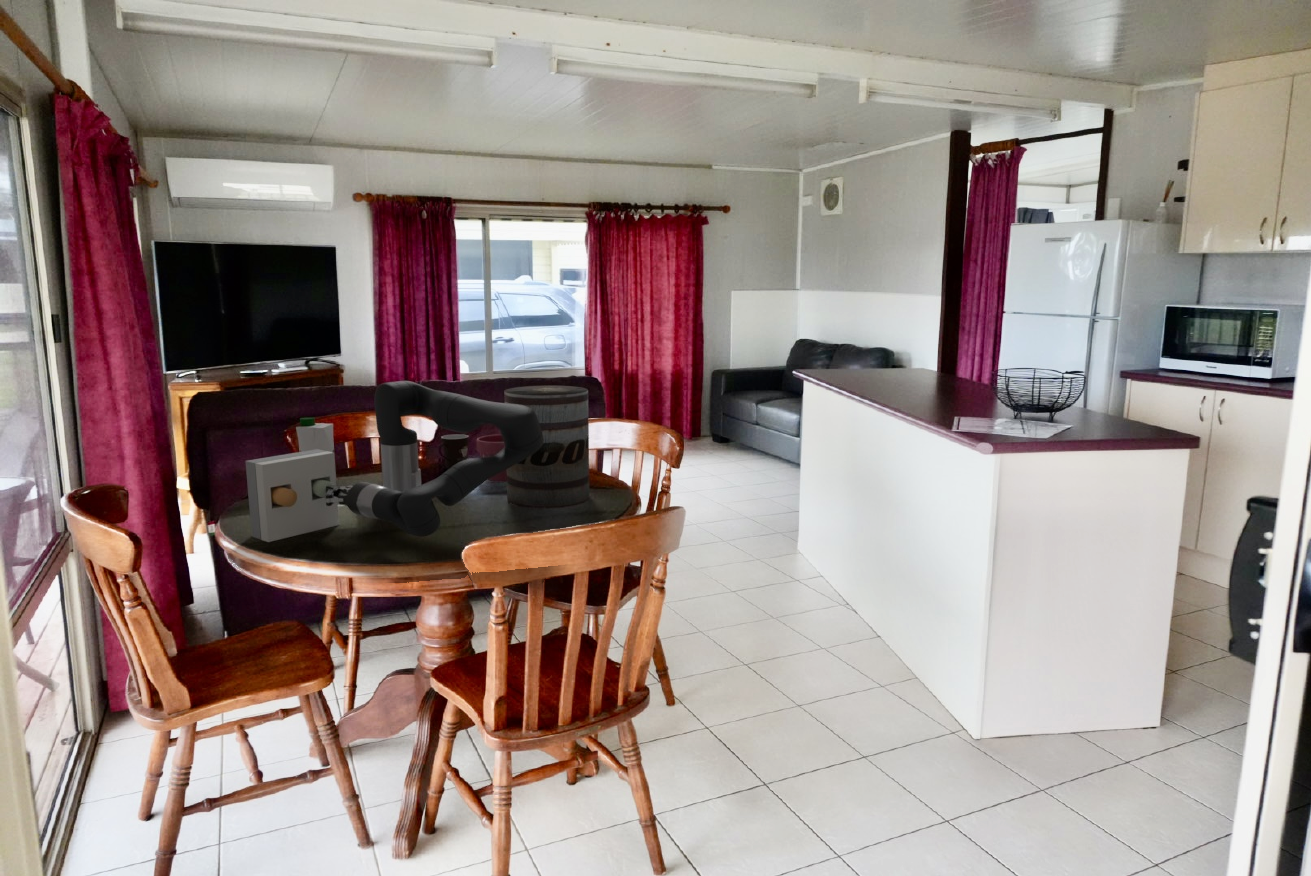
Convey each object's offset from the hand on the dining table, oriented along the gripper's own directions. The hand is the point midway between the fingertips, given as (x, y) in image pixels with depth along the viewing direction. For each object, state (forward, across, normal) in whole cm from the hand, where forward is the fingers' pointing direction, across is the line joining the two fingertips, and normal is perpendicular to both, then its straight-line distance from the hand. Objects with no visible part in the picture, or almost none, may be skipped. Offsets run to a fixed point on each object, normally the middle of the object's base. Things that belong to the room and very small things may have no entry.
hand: (328, 489), depth 201 cm
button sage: (+3, 0, +2) cm, 4 cm away
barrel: (-19, -55, +10) cm, 59 cm away
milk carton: (+44, -24, +10) cm, 52 cm away
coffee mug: (+34, -64, +10) cm, 74 cm away
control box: (+7, +5, +10) cm, 13 cm away
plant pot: (+9, -63, +10) cm, 64 cm away
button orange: (+3, +10, +2) cm, 11 cm away
